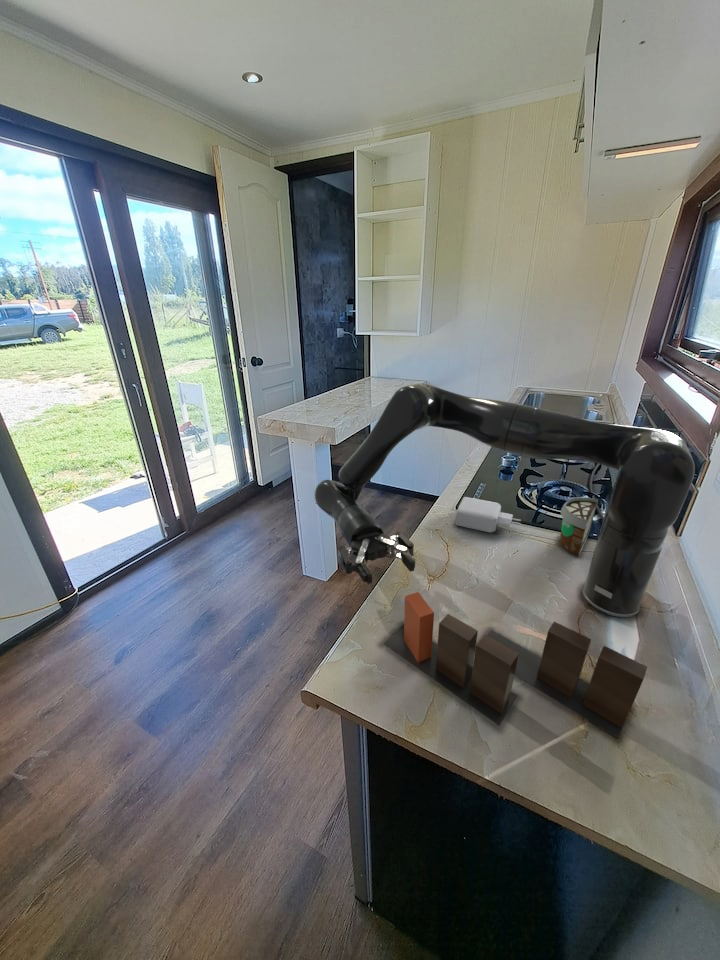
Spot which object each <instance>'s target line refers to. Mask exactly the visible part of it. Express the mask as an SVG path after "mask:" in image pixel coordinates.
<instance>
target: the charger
mask: <svg viewBox="0 0 720 960" xmlns="http://www.w3.org/2000/svg"><path fill="white" fill-rule="evenodd" d="M455 515H456V516H455V526H458V527H463V528H467V529H472V530H476V531H482V532H486V533H490V534H491V533H493V532H495V531H496V530H497V527H498V526H502V527H506V528H511V525H512V524H513V525H519V526H520V525H521V522H522V520H521V519H520V518H519V519H518V518H514V515H513V514H511V513H506V512H503V511H502V505H501V503H498V502H494V501H489V500H485V499H479V498H473V497H468V496H463V498H462V500H461V501H460V503H459V505H458V508H457V510H456V513H455Z"/></svg>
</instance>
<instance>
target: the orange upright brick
mask: <svg viewBox="0 0 720 960" xmlns="http://www.w3.org/2000/svg"><path fill="white" fill-rule="evenodd" d="M403 611H404V613H403V615H404V618H403V624H404V641H405V643H406V644H407V646H408V647H409V649H410V651H411V652H412V654H413V655H414V657H415V659H416V660H417V662H421V661H423V660H426V659H428V658H431V651H432V641H433V636H434V620H435V612H434V610H433V608H431V606H430V605H429V604H428V602H427V601H426V600H425V598H423V595H421V593H420V592H419V591H417V592H414V593H413V592H412V593H410V594H407V595H404V609H403Z"/></svg>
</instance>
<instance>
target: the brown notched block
mask: <svg viewBox="0 0 720 960" xmlns="http://www.w3.org/2000/svg"><path fill="white" fill-rule="evenodd" d="M486 636H488V637H490V638H491V639H493V640H495V641H497V642H498V643H500V644H502V645H504V646H505V647H507V648H509V649H511V650H512V651H514V652H516V653H518V654H519V655H518V660H517V665H516V670H515V674H514V677H516V678H518V679H520V680H522V681H523V682H524V683H526V684H528V685H530V686H531V687H532V688H535V689H536V690H538V691H539V692H542V694H544V695H546V696H548V697H549V698H551V699H553V700H554V701H556V702H557V703H559V704H561V705H563V706H564V707H566V708H567V709H569V710H571V711H572V712H574V713H576V714H577V715H579V716H581V717H582V718H584V719H586V720H587V721H588V723H590V724H592V725H593V726H595V727H596V728H598V729H600V730H601V731H604V732H605V733H606V734H608V735H610V736H611V737H613V738H615V740H617V741H618V740H620V737H621V734H622V731H623V728H624V726H625V724H626V722H627V720H628V719H627V718H628V717H629V714H630V712H631V709H632V707H633V705H634V703H635V700H636V698H637V695H638V694H639V691H640V690H641V689H640V688H641V686H642V684H643V681H644V679H645V676H646V673H647V670H648V666H647V665H645V664H643V663H642V662H639V661H637V660H635V659H632V658H630V657H629V656H626V655H624V654H622V653H620V652H618V651H616V650H614V649H612V648H610V647H609V646H606V645H603V647H602V649H601V651H600V653H599V655H598V657H597V661H596V662H595V667H594V669H593V673H592V675H591V678H590V681H589V682H586V681H585V680H583V679H581V674H582V670H583V668H584V664H585V662H586V660H587V659H586V658H587V655H588V652H589V649H590V646H591V642H592V639H591V638H590V637H588V636H585V635H583V634H582V633H580V632H577V631H575V630H573V629H571V628H569V627H568V626H565V625H563V624H561V623H559V622H556V621H553V623H552V624H551V626H550V628H549V629H548V631H547V634H546V638H545V641H544V646H543V650H542V655H541V656H540V655H538V654H536V653H534V652H533V651H530V650H529V649H527V648H526V647H524V646H521V645H520V644H518V643H516V642H514V641H512V640H511V639H509V638H507V637H505V636H503V635H501V634H500V633H498V632H496V631H494V630H493V629H491V630H490V631H489V632H488V634H487V635H486Z"/></svg>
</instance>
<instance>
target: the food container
mask: <svg viewBox="0 0 720 960" xmlns="http://www.w3.org/2000/svg"><path fill="white" fill-rule="evenodd" d="M594 498H595V497H594ZM594 498H591V497H583V496H582V497H579V496H578V497H573V498H570V499H568V500H566V502H565V503H564V504H563V505H562V507H561V509H560V515H561V517H562V521H561V528H560V529H561V530H560V537H559V544H560V546H561V547H562V549H563V550H565V551H566V552H568V553H570V554H572V555H574V556H576V557H579V556H580V554H581V552H582V550H583V548H584V546H585V544H586V542H587V540H588V538H589V535H590V530H591V528H592V524H593V521H594V517H595V514H596V511H597V510H596V507H597V505H598V504H599V499H598V498H595V499H594Z"/></svg>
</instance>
